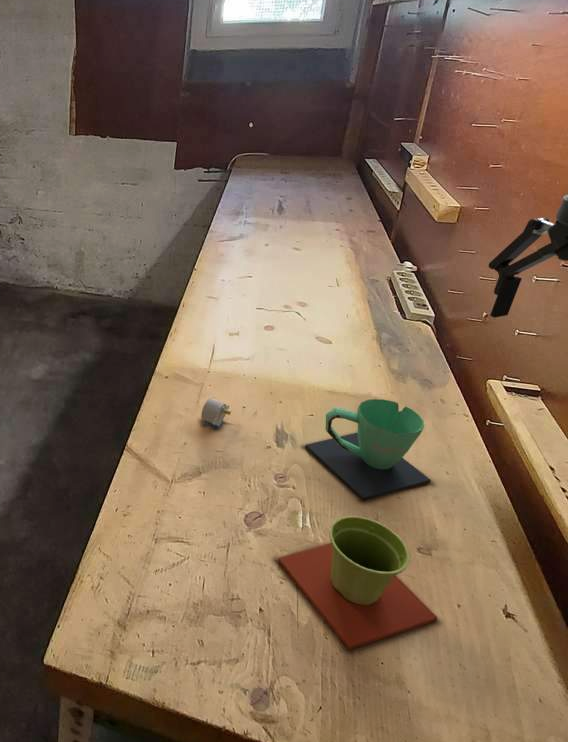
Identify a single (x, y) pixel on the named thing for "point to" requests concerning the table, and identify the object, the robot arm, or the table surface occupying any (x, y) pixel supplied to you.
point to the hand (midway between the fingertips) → (543, 335)
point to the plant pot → (365, 558)
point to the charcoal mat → (365, 470)
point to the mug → (379, 431)
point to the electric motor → (214, 412)
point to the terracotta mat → (349, 618)
